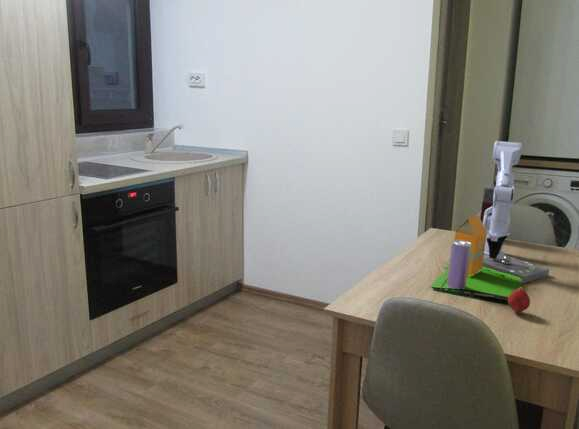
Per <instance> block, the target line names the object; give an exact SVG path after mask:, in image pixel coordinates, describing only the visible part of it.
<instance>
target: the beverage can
mask: <svg viewBox="0 0 579 429" xmlns="http://www.w3.org/2000/svg"><path fill="white" fill-rule="evenodd" d="M471 248H472V247H471V243H470V242H467V241H463V240H455V239H453V241H452V244H451V250H450V256H449V264H448V271H447V277H446V278H447V279H446V285H447V287H448V288H449V287H450V289H451V288H452V290H455V289H457V290H456V291H460V290H459V289H463V290H464V289H465V288H467V283H468V277H467V275H468V269H469V262H470V255H471Z"/></svg>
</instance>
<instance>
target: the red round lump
mask: <svg viewBox="0 0 579 429" xmlns="http://www.w3.org/2000/svg"><path fill="white" fill-rule="evenodd" d="M507 302H508V306H509V308H510V309H511V310H513V311H514V313H515V314H519V313H522V312H524V311H526V310H527V309H528V308H529V307H530V306H531V305H530V304H531V299H530V296H529V294H528V293H527V292H526V291H525V290H524V287H522V286H520V287H519V288H517V289H514V290H513V291H512V292H511V293H510V294H509V295H508V298H507Z"/></svg>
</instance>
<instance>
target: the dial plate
mask: <svg viewBox="0 0 579 429" xmlns="http://www.w3.org/2000/svg"><path fill="white" fill-rule="evenodd" d="M504 256H507V254H505V255H503V254H499V255H497V258H498V259H504ZM510 257H511V261H513V262H516V263H520V264H525V265H529V266H532V267H531V268H529V267H525V266H520V265H516V264H504V263H501V262H499V261H495V260H491V258H490V256H486V257H483V263H482V266H483V267H486V268H490V269H493V270H496V271H499V272H503V273H507V274H511V275H514V276H517V277H520V278H521V279H522V283H521V284H526V283H529V282H532V281H536V280H539V279H542V278H545V277H549V272H550V268H547V267H544V266H540V265H538V264H534V263H530V262H528V261H525V260H521V259H518V258H517V257H512V256H510Z"/></svg>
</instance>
